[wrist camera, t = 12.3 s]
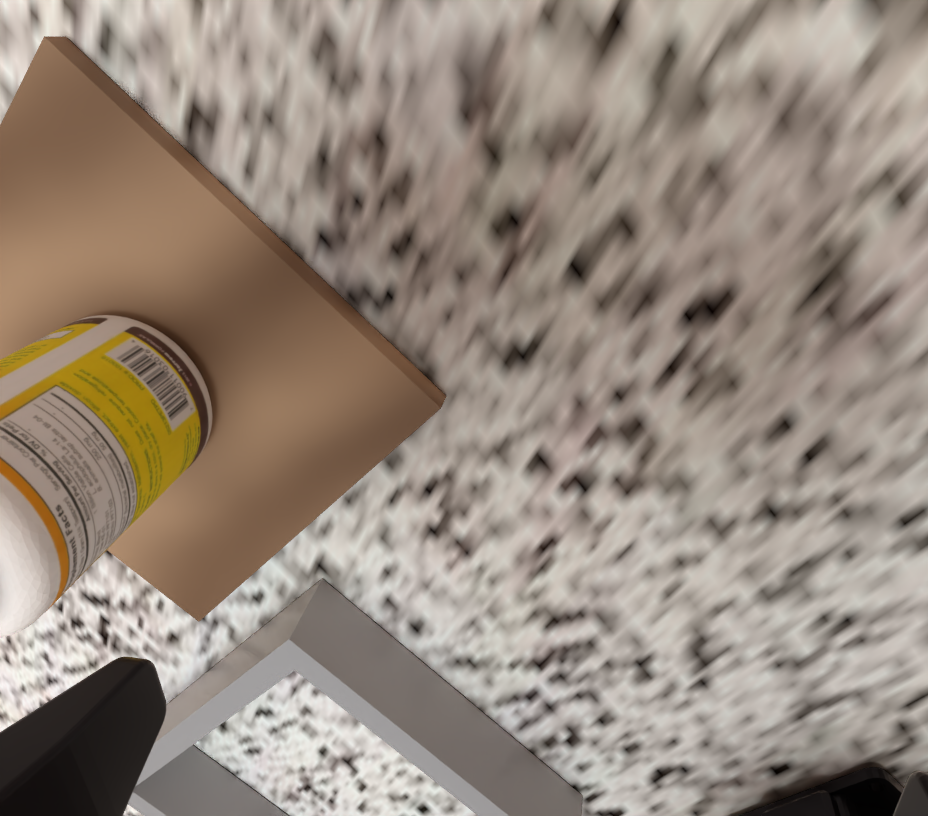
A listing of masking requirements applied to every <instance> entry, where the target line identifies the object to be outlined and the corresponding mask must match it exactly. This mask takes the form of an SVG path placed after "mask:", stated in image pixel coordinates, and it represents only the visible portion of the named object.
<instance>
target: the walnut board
mask: <svg viewBox="0 0 928 816" xmlns="http://www.w3.org/2000/svg"><path fill="white" fill-rule="evenodd" d="M97 315H113V316H121V317H126V318H130V319H133V320H137V321H139V322H142V323H144V324H146V325H149V326H151V327H153V328H154V329H156V330H158V331H159V332H161V333H163V334H164V335H166V336H167V337H168V338H170V339H171V340H172V341H173V342H175V343H176V344H177V345H178V346H179V347H180V348H181V349H182V350H183V351H184V352H185V353H186V354H187V355H188V357H189V358H190V359H191V360H192V362H193V363H194V364H195V366H196V367H197V369H198V370H199V372H200V374H201V376H202V378H203V380H204V382H205V384H206V387H207V389H208V393H209V396H210V400H211V406H212V427H211V432H210V436H209V438H208V441H207V443H206V445H205V447H204V449H203V451H202V452H201V454H200V455H199V456H198V457H197V459H196V460H195V461H194V462H193V463H192V464H191V466H190V467H189V468H188V469H186V470H185V471H184V472H183V473H182V474H181V475H180V476H179V477H178V478H177V479H176V480H175V481H174V482H173V483H172V484H171V485H170V486H169V487H168V488H167V489H166V491H165V492H164V493H163V494H162V495H161V496H159V497H158V499H157V500H156V501H155V502H154V503H153V504H152V505H151V506H150V507H149V508H148V509H147V510H146V511H145V512H144V513H143V514H142V515H141V516H140V517H139V518H138V519H137V520H136V521H135V522H134V523H133V524H132V525H131V526H130V527H129V528H128V529H127V530H126V531H125V532H124V533H123V534H122V535H121V536H120V537H119V538H118V539H117V540H116V541H115V542H114V543H113V544H112V545H111V546H110V547H109V548H108V549H107V550H108V551H109V552H110V553H112V554H113V555H114V556H116V557H117V558H118V559H119V560H121V561H122V562H123V563H125V564H126V565H127V566H128V567H130V568H131V569H132V570H133V571H135V572H136V573H137V574H139V575H140V576H141V577H142V578H144V579H145V580H146V581H148V582H149V583H150V584H151V585H153V586H154V587H155V588H156V589H158V590H159V591H160V592H162V593H163V594H164V595H165V596H167V597H168V598H169V599H170V600H172V601H173V602H174V603H176V604H177V605H178V606H179V607H181V608H182V609H183V610H185V611H186V612H187V613H188V614H190V615H191V616H192V617H193V618H195V619H196V620H197V621H200V620H201V619H202V618H203V617H205V616H206V615H207V614H208V613H209V612H210V611H211V610H213V609H214V608H215V607H216V606H217V605H218V604H219V603H220V602H222V601H223V600H224V599H225V598H226V597H227V596H228V595H230V594H231V593H232V592H233V591H234V590H235V589H236V588H237V587H239V586H240V585H241V584H242V583H243V582H244V581H245V580H247V579H248V578H249V577H250V576H251V575H252V574H253V573H254V572H256V571H257V570H258V569H259V568H260V567H261V566H262V565H264V564H265V563H266V562H267V561H268V560H269V559H270V558H271V557H273V556H274V555H275V554H276V553H277V552H278V551H279V550H281V549H282V548H283V547H284V546H285V545H286V544H287V543H288V542H290V541H291V540H292V539H293V538H294V537H295V536H296V535H298V534H299V533H300V532H301V531H302V530H303V529H304V528H306V527H307V526H308V525H309V524H310V523H311V522H312V521H313V520H315V519H316V518H317V517H318V516H319V515H320V514H321V513H323V512H324V511H325V510H326V509H327V508H328V507H329V506H330V505H332V504H333V503H334V502H335V501H336V500H337V499H338V498H340V497H341V496H342V495H343V494H344V493H345V492H346V491H347V490H349V489H350V488H351V487H352V486H353V485H354V484H355V483H357V482H358V481H359V480H360V479H361V478H362V477H363V476H364V475H366V474H367V473H368V472H369V471H370V470H371V469H372V468H374V467H375V466H376V465H377V464H378V463H379V462H380V461H381V460H383V459H384V458H385V457H386V456H387V455H388V454H389V453H391V452H392V451H393V450H394V449H395V448H396V447H397V446H398V445H400V444H401V443H402V442H403V441H404V440H405V439H406V438H408V437H409V436H410V435H411V434H412V433H413V432H414V431H415V430H417V429H418V428H419V427H420V426H421V425H422V424H423V423H425V422H426V421H427V420H428V419H429V418H430V417H431V416H432V415H434V414H435V413H436V412H437V411H438V410H439V409H440V408H441V407H442V405H443V402H444V400H445V398H446V395H445V394H444V393H443V392H441V391H440V390H439V389H438V388H437V387H436V386H435V385H434V384H433V383H432V382H431V381H430V380H429V379H428V378H427V377H426V376H425V375H423V374H422V373H421V372H420V371H419V370H418V369H417V368H416V367H415V366H414V365H413V364H412V363H411V362H410V361H409V360H408V359H407V358H405V357H404V356H403V355H402V354H401V353H400V352H399V351H398V350H397V349H396V348H395V347H394V346H393V345H392V344H391V343H390V342H389V341H387V340H386V339H385V338H384V337H383V336H382V335H381V334H380V333H379V332H378V331H377V330H376V329H375V328H374V327H373V326H372V325H371V324H369V323H368V322H367V321H366V320H365V319H364V318H363V317H362V316H361V315H360V314H359V313H358V312H357V311H356V310H355V309H354V308H353V307H351V306H350V305H349V304H348V303H347V302H346V301H345V300H344V299H343V298H342V297H341V296H340V295H339V294H338V293H337V292H336V291H335V290H333V289H332V288H331V287H330V286H329V285H328V284H327V283H326V282H325V281H324V280H323V279H322V278H321V277H320V276H319V275H318V274H317V273H315V272H314V271H313V270H312V269H311V268H310V267H309V266H308V265H307V264H306V263H305V262H304V261H303V260H302V259H301V258H300V257H299V256H297V255H296V254H295V253H294V252H293V251H292V250H291V249H290V248H289V247H288V246H287V245H286V244H285V243H284V242H283V241H282V240H281V239H279V238H278V237H277V236H276V235H275V234H274V233H273V232H272V231H271V230H270V229H269V228H268V227H267V226H266V225H265V224H264V223H263V222H261V221H260V220H259V219H258V218H257V217H256V216H255V215H254V214H253V213H252V212H251V211H250V210H249V209H248V208H247V207H246V206H245V205H243V204H242V203H241V202H240V201H239V200H238V199H237V198H236V197H235V196H234V195H233V194H232V193H231V192H230V191H229V190H228V189H227V188H225V187H224V186H223V185H222V184H221V183H220V182H219V181H218V180H217V179H216V178H215V177H214V176H213V175H212V174H211V173H210V172H209V171H207V170H206V169H205V168H204V167H203V166H202V165H201V164H200V163H199V162H198V161H197V160H196V159H195V158H194V157H193V156H192V155H191V154H189V153H188V152H187V151H186V150H185V149H184V148H183V147H182V146H181V145H180V144H179V143H178V142H177V141H176V140H175V139H174V138H173V137H171V136H170V135H169V134H168V133H167V132H166V131H165V130H164V129H163V128H162V127H161V126H160V125H159V124H158V123H157V122H156V121H154V120H153V119H152V118H151V117H150V116H149V115H148V114H147V113H146V112H145V111H144V110H143V109H142V108H141V107H140V106H139V105H138V104H136V103H135V102H134V101H133V100H132V99H131V98H130V97H129V96H128V95H127V94H126V93H125V92H124V91H123V90H122V89H121V88H120V87H118V86H117V85H116V84H115V83H114V82H113V81H112V80H111V79H110V78H109V77H108V76H107V75H106V74H105V73H104V72H103V71H102V70H100V69H99V68H98V67H97V66H96V65H95V64H94V63H93V62H92V61H91V60H90V59H89V58H88V57H87V56H86V55H85V54H84V53H82V52H81V51H80V50H79V49H78V48H77V47H76V46H75V45H74V44H73V43H72V42H71V41H70V40H69V39H68V38H67V37H44V38H43V40H42V42H41V44H40V46H39V48H38V50H37V52H36V54H35V56H34V58H33V60H32V62H31V64H30V66H29V68H28V70H27V72H26V74H25V77H24V79H23V81H22V83H21V85H20V87H19V89H18V91H17V93H16V95H15V97H14V99H13V101H12V103H11V105H10V107H9V109H8V111H7V113H6V115H5V117H4V119H3V121H2V123H1V125H0V360H1V359H3V358H5V357H7V356H9V355H10V354H12V353H14V352H16V351H18V350H20V349H22V348H24V347H26V346H28V345H30V344H32V343H34V342H35V341H37V340H39V339H41V338H43V337H45V336H47V335H48V334H50V333H52V332H54V331H56V330H58V329H60V328H62V327H64V326H66V325H68V324H70V323H73V322H75V321H77V320H80V319H82V318H86V317H90V316H97Z"/></svg>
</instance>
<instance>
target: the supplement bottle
mask: <svg viewBox="0 0 928 816" xmlns="http://www.w3.org/2000/svg"><path fill="white" fill-rule="evenodd" d="M211 427H212V406H211V400H210V396H209V393H208V389H207V387H206V384H205V382H204V380H203V378H202V376H201V374H200V372H199V370H198V369H197V367H196V366H195V364H194V363H193V362H192V360H191V359H190V358H189V357H188V355H187V354H186V353H185V352H184V351H183V350H182V349H181V348H180V347H179V346H178V345H177V344H176V343H175V342H173V341H172V340H171V339H170V338H168V337H167V336H166V335H164V334H163V333H161V332H159V331H158V330H156V329H154V328H153V327H151V326H149V325H146V324H144V323H142V322H139V321H137V320H133V319H130V318H126V317H121V316H113V315H97V316H90V317H86V318H82V319H80V320H77V321H75V322H73V323H70V324H68V325H66V326H64V327H62V328H60V329H58V330H56V331H54V332H52V333H50V334H48V335H47V336H45V337H43V338H41V339H39V340H37V341H35V342H34V343H32V344H30V345H28V346H26V347H24V348H22V349H20V350H18V351H16V352H14V353H12V354H10V355H9V356H7V357H5V358H3V359H1V360H0V638H2V637H6V636H9V635H12V634H15V633H17V632H19V631H21V630H23V629H24V628H26V627H28V626H29V625H31V624H32V623H34V622H35V621H36V620H37V619H38V618H39V617H40V616H41V615H42V614H43V613H45V612H46V611H47V610H48V609H49V608H50V607H51V606H52V605H53V604H54V603H55V602H56V601H57V600H58V599H59V598H60V597H61V596H62V595H63V594H64V592H65V591H66V590H67V589H68V588H69V587H70V586H71V585H72V584H73V583H74V582H75V581H76V580H77V579H78V578H79V577H80V576H81V575H82V574H83V573H84V572H85V571H86V570H87V569H88V568H89V567H90V566H91V565H92V564H93V563H94V562H95V561H96V560H97V559H98V558H99V557H100V556H101V555H102V554H103V553H104V552H105V551H106V550H107V549H108V548H109V547H110V546H111V545H112V544H113V543H114V542H115V541H116V540H117V539H118V538H119V537H120V536H121V535H122V534H123V533H124V532H125V531H126V530H127V529H128V528H129V527H130V526H131V525H132V524H133V523H134V522H135V521H136V520H137V519H138V518H139V517H140V516H141V515H142V514H143V513H144V512H145V511H146V510H147V509H148V508H149V507H150V506H151V505H152V504H153V503H154V502H155V501H156V500H157V499H158V497H159V496H161V495H162V494H163V493H164V492H165V491H166V489H167V488H168V487H169V486H170V485H171V484H172V483H173V482H174V481H175V480H176V479H177V478H178V477H179V476H180V475H181V474H182V473H183V472H184V471H185V470H186V469H188V468H189V467H190V466H191V464H192V463H193V462H194V461H195V460H196V459H197V457H198V456H199V455H200V454H201V452H202V451H203V449H204V447H205V445H206V443H207V441H208V438H209V436H210V432H211Z"/></svg>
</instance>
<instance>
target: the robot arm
mask: <svg viewBox="0 0 928 816" xmlns="http://www.w3.org/2000/svg"><path fill="white" fill-rule="evenodd" d="M165 716H166V700H165V697H164V693H163V690H162V687H161V684H160V681H159V677H158V674H157V671H156V668H155V666H154V664H153V663H152V662H151V661H150V660H146V659H140V658H133V657H120V658H118V659H115V660H114V661H112V662H110V663H109V664H107V665H105V666H104V667H102V668H101V669H99V670H98V671H96V672H94V673H93V674H91V675H90V676H88V677H87V678H85V679H83V680H82V681H80V682H79V683H77V684H76V685H74V686H72V687H71V688H69V689H68V690H66V691H65V692H63V693H61V694H60V695H58V696H57V697H55V698H54V699H52V700H50V701H49V702H47V703H46V704H44V705H42V706H41V707H39V708H38V709H36V710H35V711H33V712H31V713H30V714H28V715H27V716H25V717H24V718H22V719H20V720H19V721H17V722H16V723H14V724H13V725H11V726H9V727H8V728H6V729H5V730H3V731H2V732H0V816H123V813H124V811H125V809H126V807H127V804H128V802H129V800H130V798H131V795H132V793H133V791H134V788H135V786H136V784H137V782H138V779H139V777H140V775H141V773H142V770H143V768H144V766H145V764H146V761H147V759H148V757H149V754H150V752H151V750H152V748H153V745H154V743H155V741H156V739H157V736H158V734H159V732H160V729H161V727H162V725H163V722H164V719H165ZM740 816H928V772H924V771H915V772H913V773H912V774H910V776H909V778H908V780H907V782H906V785H905V787H904V788H903V787H902V786H901V785H900V784H899V783H898V782H897V781H896V780H895V779H894V778H893V777H891V776H890V775H889V774H888V773H887V772H886V771H885V770H883V769H881V768H877V767H869V768H865V769H862V770H859V771H857V772H854V773H851V774H849V775H846V776H843V777H841V778H838V779H835V780H833V781H830V782H828V783H825V784H822V785H820V786H817V787H814V788H812V789H809V790H806V791H804V792H801V793H798V794H796V795H793V796H790V797H788V798H785V799H783V800H780V801H777V802H775V803H772V804H769V805H767V806H764V807H761V808H759V809H756V810H753V811H751V812H748V813H745V814H743V815H740Z"/></svg>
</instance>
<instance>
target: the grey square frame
mask: <svg viewBox="0 0 928 816" xmlns="http://www.w3.org/2000/svg"><path fill="white" fill-rule="evenodd" d="M294 670H295V671H296V672H298V673H299V674H300V675H301V676H303V677H304V678H305V679H306V680H308V681H309V682H310V683H312V684H313V685H314V686H315V687H317V688H318V689H319V690H320V691H322V692H323V693H324V694H325V695H327V696H328V697H329V698H330V699H332V700H333V701H334V702H336V703H337V704H338V705H339V706H341V707H342V708H343V709H344V710H346V711H347V712H348V713H349V714H351V715H352V716H353V717H354V718H356V719H357V720H358V721H359V722H361V723H362V724H363V725H365V726H366V727H367V728H368V729H370V730H371V731H372V732H373V733H375V734H376V735H377V736H378V737H380V738H381V739H382V740H383V741H385V742H386V743H387V744H389V745H390V746H391V747H392V748H394V749H395V750H396V751H397V752H399V753H400V754H401V755H402V756H404V757H405V758H406V759H407V760H409V761H410V762H411V763H413V764H414V765H415V766H416V767H418V768H419V769H420V770H421V771H423V772H424V773H425V774H426V775H428V776H429V777H430V778H431V779H433V780H434V781H435V782H436V783H438V784H439V785H440V786H442V787H443V788H444V789H445V790H447V791H448V792H449V793H450V794H452V795H453V796H454V797H455V798H457V799H458V800H459V801H460V802H462V803H463V804H464V805H466V806H467V807H468V808H469V809H471V810H472V811H473V812H474V813H476V814H477V815H478V816H582V795H581V794H580V793H579V792H577V791H576V790H575V789H574V788H573V787H571V786H570V785H569V784H568V783H567V782H565V781H564V780H563V779H562V778H561V777H560V776H558V775H557V774H556V773H555V772H554V771H552V770H551V769H550V768H549V767H548V766H546V765H545V764H544V763H543V762H542V761H540V760H539V759H538V758H537V757H536V756H534V755H533V754H532V753H531V752H530V751H528V750H527V749H526V748H525V747H524V746H522V745H521V744H520V743H519V742H518V741H516V740H515V739H514V738H513V737H512V736H510V735H509V734H508V733H507V732H506V731H504V730H503V729H502V728H501V727H500V726H498V725H497V724H496V723H495V722H494V721H492V720H491V719H490V718H489V717H488V716H486V715H485V714H484V713H483V712H482V711H480V710H479V709H478V708H477V707H476V706H474V705H473V704H472V703H471V702H470V701H468V700H467V699H466V698H465V697H464V696H462V695H461V694H460V693H459V692H458V691H456V690H455V689H454V688H453V687H452V686H450V685H449V684H448V683H447V682H446V681H444V680H443V679H442V678H441V677H440V676H438V675H437V674H436V673H435V672H434V671H432V670H431V669H430V668H429V667H428V666H426V665H425V664H424V663H423V662H422V661H420V660H419V659H418V658H417V657H416V656H414V655H413V654H412V653H411V652H410V651H408V650H407V649H406V648H405V647H404V646H402V645H401V644H400V643H399V642H398V641H396V640H395V639H394V638H393V637H392V636H390V635H389V634H388V633H387V632H386V631H384V630H383V629H382V628H381V627H380V626H378V625H377V624H376V623H375V622H374V621H372V620H371V619H370V618H369V617H368V616H366V615H365V614H364V613H363V612H362V611H360V610H359V609H358V608H357V607H356V606H354V605H353V604H352V603H351V602H350V601H348V600H347V599H346V598H345V597H344V596H343V595H341V594H340V593H339V592H338V591H337V590H335V589H334V588H333V587H332V586H331V585H329V584H328V583H327V582H326V581H325V580H323V579H321V580H320V581H319V582H317V583H316V584H315V585H314V586H312V587H311V588H310V589H309V590H308V591H306V592H305V593H304V594H303V595H301V596H300V597H299V598H298V599H296V600H295V601H294V602H293V603H291V604H290V605H289V606H288V607H287V608H285V609H284V610H283V611H282V612H280V613H279V614H278V615H277V616H275V617H274V618H273V619H272V620H271V621H269V622H268V623H267V624H266V625H264V626H263V627H262V628H261V629H259V630H258V631H257V632H256V633H254V634H253V635H252V636H251V637H250V638H248V639H247V640H246V641H245V642H243V643H242V644H241V645H240V646H238V647H237V648H236V649H235V650H233V651H232V652H231V653H230V654H229V655H227V656H226V657H225V658H224V659H222V660H221V661H220V662H219V663H217V664H216V665H215V666H214V667H212V668H211V669H210V670H209V671H208V672H206V673H205V674H204V675H203V676H201V677H200V678H199V679H198V680H196V681H195V682H194V683H193V684H191V685H190V686H189V687H188V688H187V689H185V690H184V691H183V692H182V693H180V694H179V695H178V696H177V697H175V698H174V699H173V700H172V701H170V702H169V703H168V704H167V705H166V716H165V719H164V722H163V725H162V727H161V729H160V732H159V734H158V736H157V739H156V741H155V743H154V745H153V748H152V750H151V752H150V754H149V757H148V759H147V761H146V764H145V766H144V768H143V770H142V773H141V775H140V777H139V779H138V782H137V784H136V786H135V788H134V791H133V793H132V795H131V798H130V800H129V802H128V804H129V805H130V806H131V807H133V808H134V809H136V810H137V811H139V812H140V813H141V814H143V815H144V816H288V815H287V814H285V813H284V812H283V811H281V810H280V809H279V808H277V807H276V806H275V805H273V804H272V803H271V802H269V801H268V800H266V799H265V798H264V797H262V796H261V795H260V794H258V793H257V792H256V791H254V790H253V789H252V788H250V787H249V786H247V785H246V784H245V783H243V782H242V781H241V780H239V779H238V778H237V777H235V776H234V775H233V774H231V773H230V772H228V771H227V770H226V769H224V768H223V767H222V766H220V765H219V764H218V763H216V762H215V761H214V760H212V759H211V758H210V757H208V756H207V755H205V754H204V753H203V752H201V751H200V750H199V749H197V748H196V747H195V746H193V744H194V743H196V742H197V741H199V740H200V739H201V738H203V737H204V736H205V735H207V734H208V733H210V732H211V731H212V730H214V729H215V728H216V727H218V726H219V725H220V724H222V723H223V722H225V721H226V720H227V719H229V718H230V717H231V716H233V715H234V714H235V713H237V712H238V711H240V710H241V709H242V708H244V707H245V706H246V705H248V704H249V703H251V702H252V701H253V700H255V699H256V698H257V697H259V696H260V695H261V694H263V693H264V692H266V691H267V690H268V689H270V688H271V687H272V686H274V685H275V684H276V683H278V682H279V681H281V680H282V679H283V678H285V677H286V676H287V675H289V674H290V673H292V672H293V671H294Z"/></svg>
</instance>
